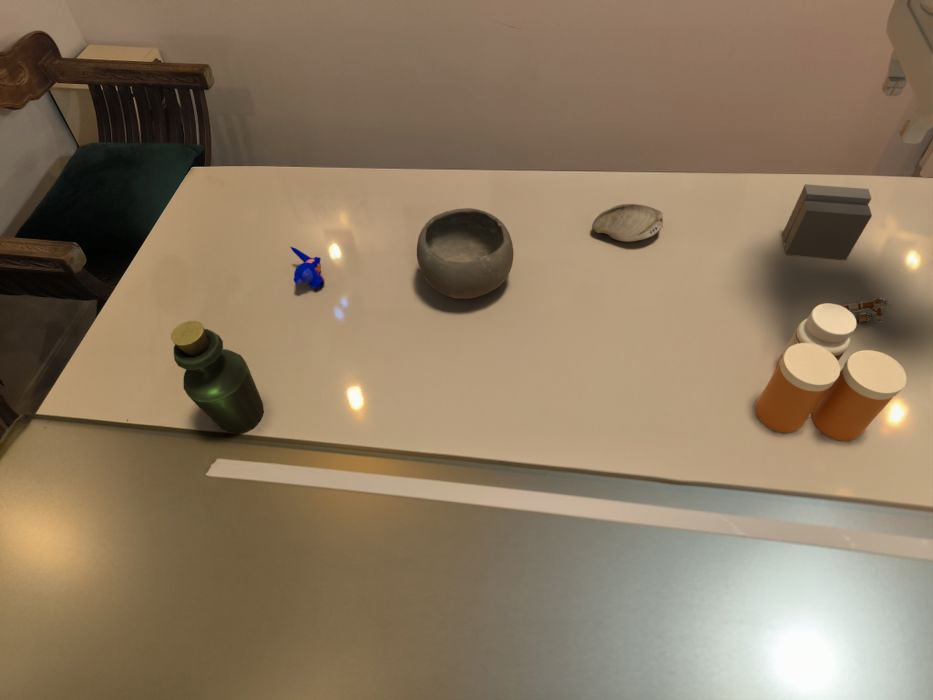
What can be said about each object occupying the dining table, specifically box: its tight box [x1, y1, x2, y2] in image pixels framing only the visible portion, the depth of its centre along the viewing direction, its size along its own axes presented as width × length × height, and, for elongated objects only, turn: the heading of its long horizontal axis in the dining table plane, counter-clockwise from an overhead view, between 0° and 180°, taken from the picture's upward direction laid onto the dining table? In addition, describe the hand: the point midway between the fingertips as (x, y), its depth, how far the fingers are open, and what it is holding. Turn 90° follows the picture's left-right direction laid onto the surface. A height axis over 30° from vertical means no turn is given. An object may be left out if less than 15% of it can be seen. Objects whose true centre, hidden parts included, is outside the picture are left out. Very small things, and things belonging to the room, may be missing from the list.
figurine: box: [290, 246, 325, 290], centre depth 99 cm, size 5×8×5 cm, turn 12°
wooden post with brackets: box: [841, 297, 890, 323], centre depth 88 cm, size 2×8×4 cm, turn 77°
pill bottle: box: [777, 302, 857, 366], centre depth 80 cm, size 6×6×11 cm
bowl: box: [416, 207, 514, 299], centre depth 95 cm, size 15×15×10 cm
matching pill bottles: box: [755, 343, 907, 442], centre depth 75 cm, size 6×13×11 cm, turn 78°
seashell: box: [591, 203, 664, 243], centre depth 101 cm, size 12×8×5 cm
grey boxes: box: [781, 184, 873, 261], centre depth 95 cm, size 5×9×10 cm, turn 78°
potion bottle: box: [170, 319, 265, 434], centre depth 78 cm, size 8×8×18 cm
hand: (898, 115), depth 67 cm, fingers open, 8 cm apart
